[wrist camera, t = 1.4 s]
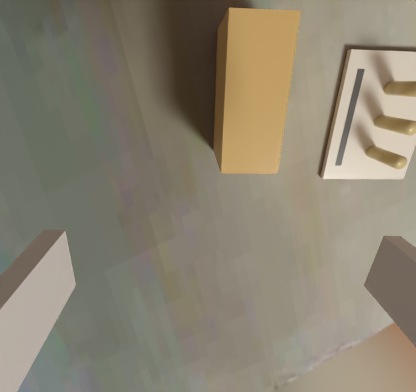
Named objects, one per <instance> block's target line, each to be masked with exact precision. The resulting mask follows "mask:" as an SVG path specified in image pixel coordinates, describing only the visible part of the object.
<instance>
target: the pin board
mask: <svg viewBox="0 0 416 392" xmlns="http://www.w3.org/2000/svg"><path fill="white" fill-rule="evenodd" d="M415 145H416V52H408V51H381V50H355V49H351V50H348V51H347V56H346V61H345V65H344V70H343V75H342V79H341V84H340V88H339V93H338V98H337V102H336V107H335V112H334V116H333V121H332V125H331V130H330V135H329V139H328V144H327V149H326V153H325V158H324V162H323V167H322V172H321V176H320V177H321V178H322V179H404V176H405V173H406V170H407V167H408V165H409V162H410V159H411V156H412V153H413V151H414V148H415Z"/></svg>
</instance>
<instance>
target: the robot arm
mask: <svg viewBox="0 0 416 392" xmlns="http://www.w3.org/2000/svg"><path fill="white" fill-rule="evenodd" d="M75 286H76V284H75V279H74V273H73V268H72V263H71V258H70V253H69V248H68V242H67V237H66V232H65V230H44V231H43V232H42V233H41V234H40V235H39V236H38V237H37V238H36V239H35V240H34V241H33V243H32V244H31V245H30V246H29V247H28V248H27V249H26V250H25V251H24V252H23V253H22V254H21V255H20V256H19V257H18V258H17V259H16V260H15V261H14V262H13V263H12V264H11V265H10V266H9V267H8V269H7V270H6V271H5V272H4V273H3V274H2V275H1V276H0V392H17V391H18V389H19V387H20V385H21V383H22V382H23V380H24V378H25V376H26V374H27V373H28V371H29V369H30V367H31V365H32V364H33V362H34V360H35V358H36V356H37V355H38V353H39V351H40V349H41V347H42V345H43V344H44V342H45V340H46V338H47V336H48V335H49V333H50V331H51V329H52V327H53V326H54V324H55V322H56V320H57V318H58V317H59V315H60V313H61V311H62V309H63V307H64V306H65V304H66V302H67V300H68V298H69V297H70V295H71V293H72V291H73V289H74V288H75ZM364 286H365V287H366V288H367V290H368V291H369V292H370V293H371V294H372V296H373V297H374V298H375V299H376V300H377V301H378V303H379V304H380V305H381V306H382V307H383V309H384V310H385V311H386V312H387V313H388V314H389V316H390V317H391V318H392V319H393V320H394V322H395V323H396V324H397V325H398V326H399V327H400V329H401V330H402V331H403V332H404V333H405V335H406V336H407V337H408V338H409V339H410V341H411V342H412V343H413V344H414V345H415V346H416V248H415V247H414V246H413V245H411V244H410V243H409V242H407V241H406V240H405V239H403V238H402V237H401V236H384V237H383V239H382V242H381V244H380V247H379V249H378V252H377V254H376V257H375V259H374V262H373V264H372V267H371V269H370V272H369V274H368V277H367V279H366V282H365V284H364Z"/></svg>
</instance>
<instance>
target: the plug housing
mask: <svg viewBox="0 0 416 392" xmlns="http://www.w3.org/2000/svg"><path fill="white" fill-rule="evenodd" d="M300 15H301V11H291V10H270V9H249V8H229V9H228V11H227V12H226V14H225V16H224V18H223V20H222V22H221V24H220V25H219V27H218V35H217V64H216V92H215V121H214V150H213V151H214V154H215V157H216V160H217V163H218V166H219V169H220V172H221V173H266V174H278V168H279V161H280V154H281V147H282V140H283V133H284V126H285V120H286V113H287V106H288V99H289V92H290V85H291V78H292V71H293V64H294V57H295V50H296V43H297V36H298V29H299V22H300Z"/></svg>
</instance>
